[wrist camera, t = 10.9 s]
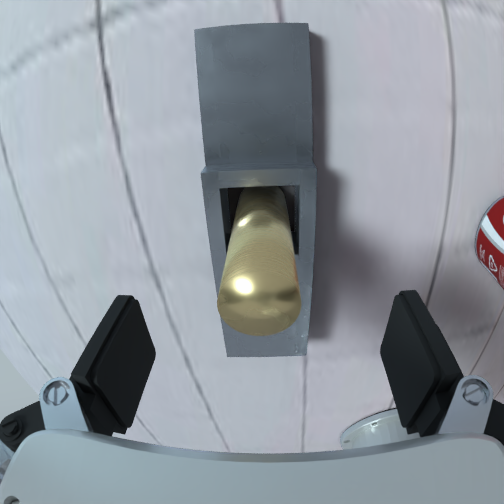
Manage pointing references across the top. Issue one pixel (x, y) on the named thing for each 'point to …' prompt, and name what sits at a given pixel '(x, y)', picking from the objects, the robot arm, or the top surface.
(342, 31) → the top surface
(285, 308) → the brass pin
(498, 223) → the soda can
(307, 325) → the grey slotted base
